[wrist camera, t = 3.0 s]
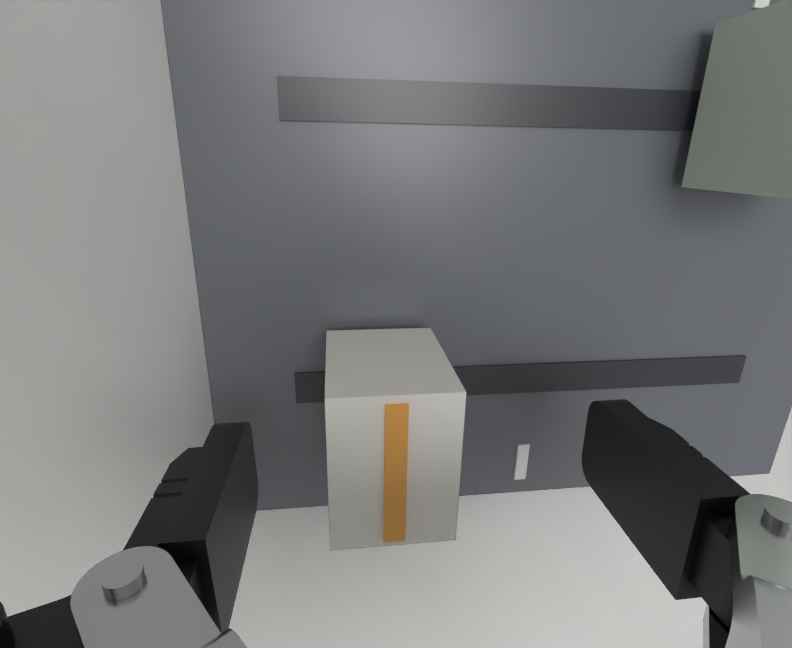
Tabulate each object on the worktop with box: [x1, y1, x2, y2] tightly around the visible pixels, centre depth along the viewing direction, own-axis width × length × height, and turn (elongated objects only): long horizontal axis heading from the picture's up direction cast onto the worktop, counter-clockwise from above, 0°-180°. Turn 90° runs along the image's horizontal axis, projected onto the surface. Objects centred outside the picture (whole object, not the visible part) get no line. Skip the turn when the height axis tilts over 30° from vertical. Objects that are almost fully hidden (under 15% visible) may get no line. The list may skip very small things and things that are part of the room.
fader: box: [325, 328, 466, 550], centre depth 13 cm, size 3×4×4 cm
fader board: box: [161, 0, 792, 511], centre depth 16 cm, size 20×17×3 cm
